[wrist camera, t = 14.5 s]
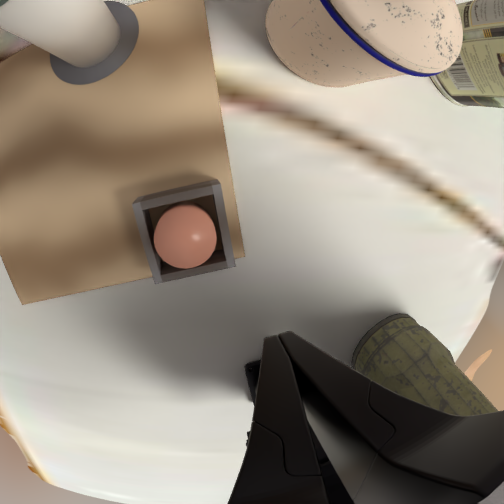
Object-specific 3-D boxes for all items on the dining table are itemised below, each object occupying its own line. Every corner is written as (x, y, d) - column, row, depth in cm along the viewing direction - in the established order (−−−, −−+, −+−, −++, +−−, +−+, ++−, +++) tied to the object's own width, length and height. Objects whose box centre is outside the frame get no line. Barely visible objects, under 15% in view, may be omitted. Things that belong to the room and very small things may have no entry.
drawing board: (244, 254, 20) (250, 268, 18) (23, 302, 18) (12, 318, 16) (200, -20, 12) (202, -36, 10) (-28, 72, 10) (-44, 70, 8)
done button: (218, 248, 19) (221, 261, 17) (165, 260, 18) (163, 274, 17) (208, 195, 17) (210, 202, 16) (151, 208, 17) (146, 216, 15)
